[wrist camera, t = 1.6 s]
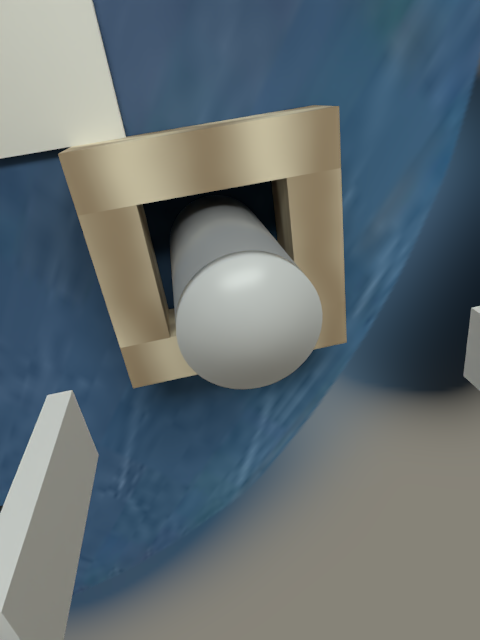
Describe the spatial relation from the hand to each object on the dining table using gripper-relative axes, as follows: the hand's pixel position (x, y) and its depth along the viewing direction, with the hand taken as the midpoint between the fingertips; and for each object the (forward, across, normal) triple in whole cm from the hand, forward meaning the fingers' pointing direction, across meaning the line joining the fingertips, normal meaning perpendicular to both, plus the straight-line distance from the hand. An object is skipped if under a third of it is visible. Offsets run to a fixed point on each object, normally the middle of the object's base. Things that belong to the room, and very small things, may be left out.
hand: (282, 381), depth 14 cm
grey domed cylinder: (+16, 0, 0) cm, 16 cm away
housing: (+16, 0, 0) cm, 16 cm away
